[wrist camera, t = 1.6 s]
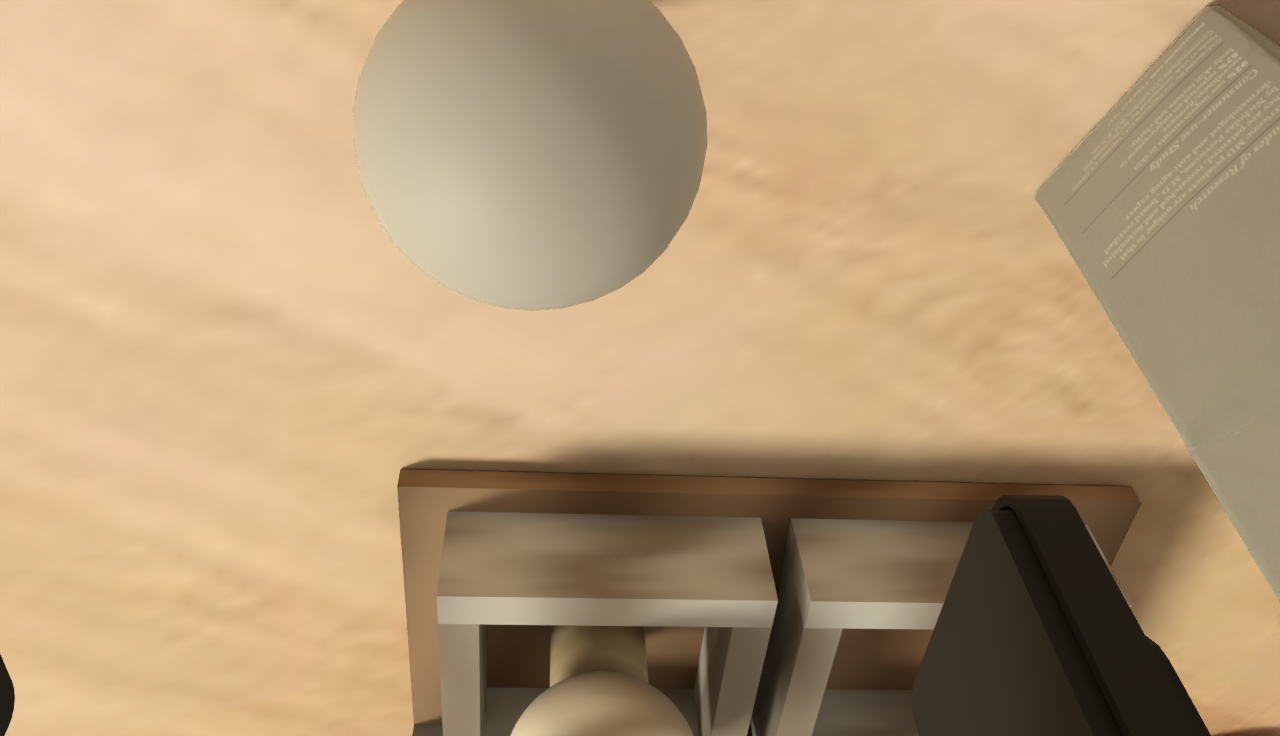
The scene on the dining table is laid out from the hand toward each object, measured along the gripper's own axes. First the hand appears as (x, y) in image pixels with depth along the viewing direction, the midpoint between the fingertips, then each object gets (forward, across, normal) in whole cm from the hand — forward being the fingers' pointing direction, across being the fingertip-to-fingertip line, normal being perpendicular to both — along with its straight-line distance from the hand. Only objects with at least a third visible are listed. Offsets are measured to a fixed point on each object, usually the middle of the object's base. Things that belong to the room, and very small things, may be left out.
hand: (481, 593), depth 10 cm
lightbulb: (+19, 0, 0) cm, 19 cm away
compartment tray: (+18, -8, +23) cm, 31 cm away
